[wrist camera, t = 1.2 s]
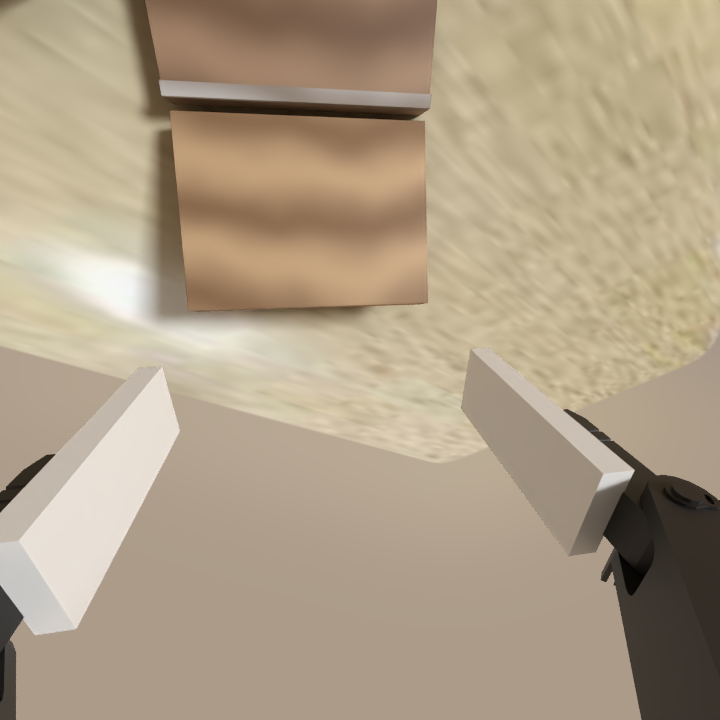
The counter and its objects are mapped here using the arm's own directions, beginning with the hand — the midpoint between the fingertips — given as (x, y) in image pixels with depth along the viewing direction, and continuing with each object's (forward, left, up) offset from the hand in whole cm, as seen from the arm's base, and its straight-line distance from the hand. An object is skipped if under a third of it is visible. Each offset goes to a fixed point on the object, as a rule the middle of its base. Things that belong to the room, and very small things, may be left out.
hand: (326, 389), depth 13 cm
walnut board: (-17, 0, -20) cm, 26 cm away
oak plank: (-5, 0, -18) cm, 18 cm away
